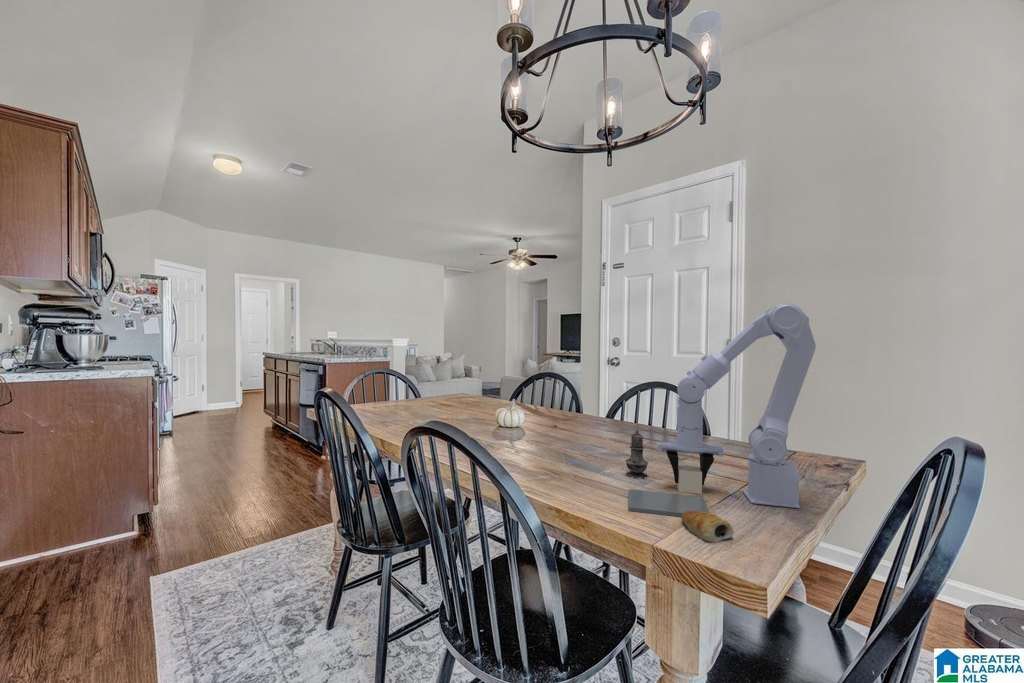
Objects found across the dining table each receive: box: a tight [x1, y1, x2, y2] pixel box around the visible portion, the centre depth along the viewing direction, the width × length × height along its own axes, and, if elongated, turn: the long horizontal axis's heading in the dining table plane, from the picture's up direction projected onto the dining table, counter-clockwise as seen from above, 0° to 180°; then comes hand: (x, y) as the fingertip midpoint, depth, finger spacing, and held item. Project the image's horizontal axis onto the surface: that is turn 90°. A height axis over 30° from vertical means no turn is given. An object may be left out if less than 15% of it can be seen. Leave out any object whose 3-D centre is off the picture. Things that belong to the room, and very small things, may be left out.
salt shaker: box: [624, 429, 649, 479], centre depth 112 cm, size 6×6×12 cm
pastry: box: [680, 511, 734, 543], centre depth 81 cm, size 9×7×4 cm
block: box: [676, 464, 703, 495], centre depth 102 cm, size 5×5×5 cm
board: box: [627, 488, 711, 518], centre depth 92 cm, size 16×11×1 cm
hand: (688, 483), depth 102 cm, fingers closed on block, 5 cm apart
